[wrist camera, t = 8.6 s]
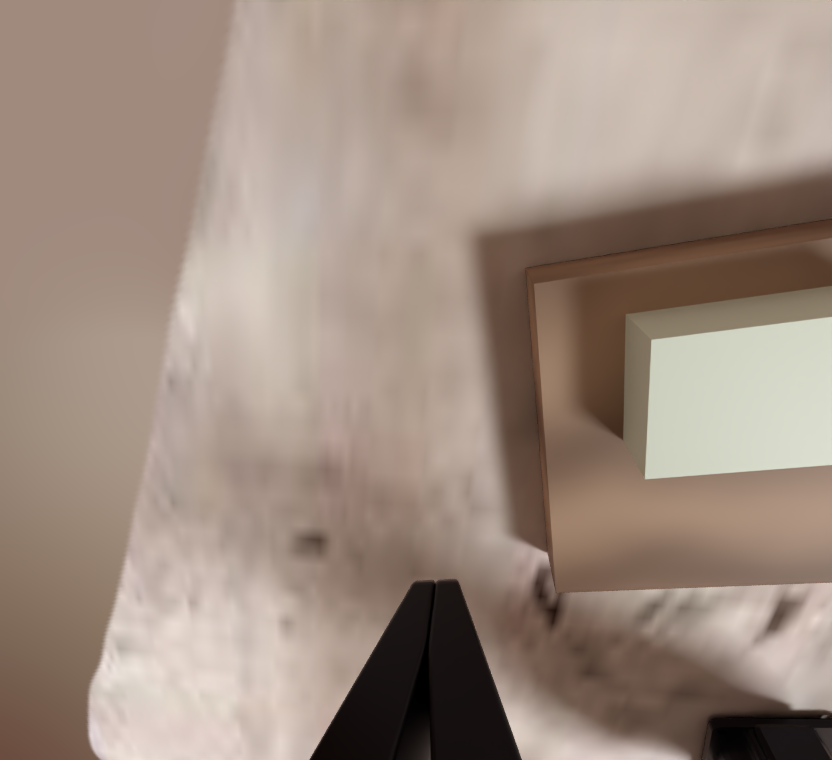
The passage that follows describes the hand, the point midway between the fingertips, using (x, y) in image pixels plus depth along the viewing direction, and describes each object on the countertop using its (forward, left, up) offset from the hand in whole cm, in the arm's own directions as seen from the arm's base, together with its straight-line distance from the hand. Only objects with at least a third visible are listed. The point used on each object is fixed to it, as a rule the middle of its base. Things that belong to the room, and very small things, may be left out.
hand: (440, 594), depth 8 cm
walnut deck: (-3, -10, -9) cm, 14 cm away
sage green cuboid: (0, -8, -7) cm, 11 cm away
